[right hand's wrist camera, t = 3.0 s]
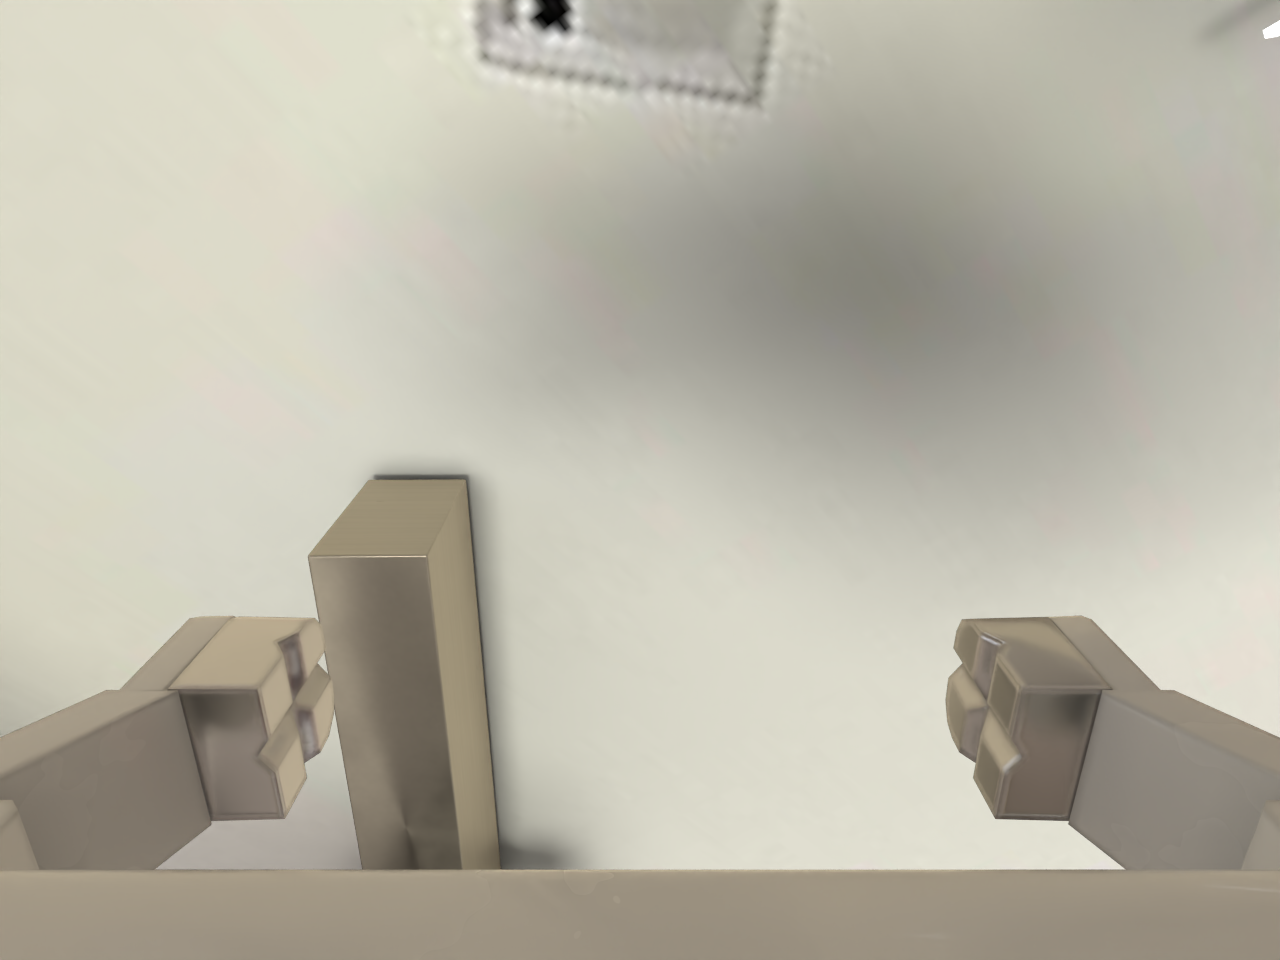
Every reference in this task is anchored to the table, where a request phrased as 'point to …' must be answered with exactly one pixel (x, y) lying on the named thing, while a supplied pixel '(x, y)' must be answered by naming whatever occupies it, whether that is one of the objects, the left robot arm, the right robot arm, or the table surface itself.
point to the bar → (409, 675)
